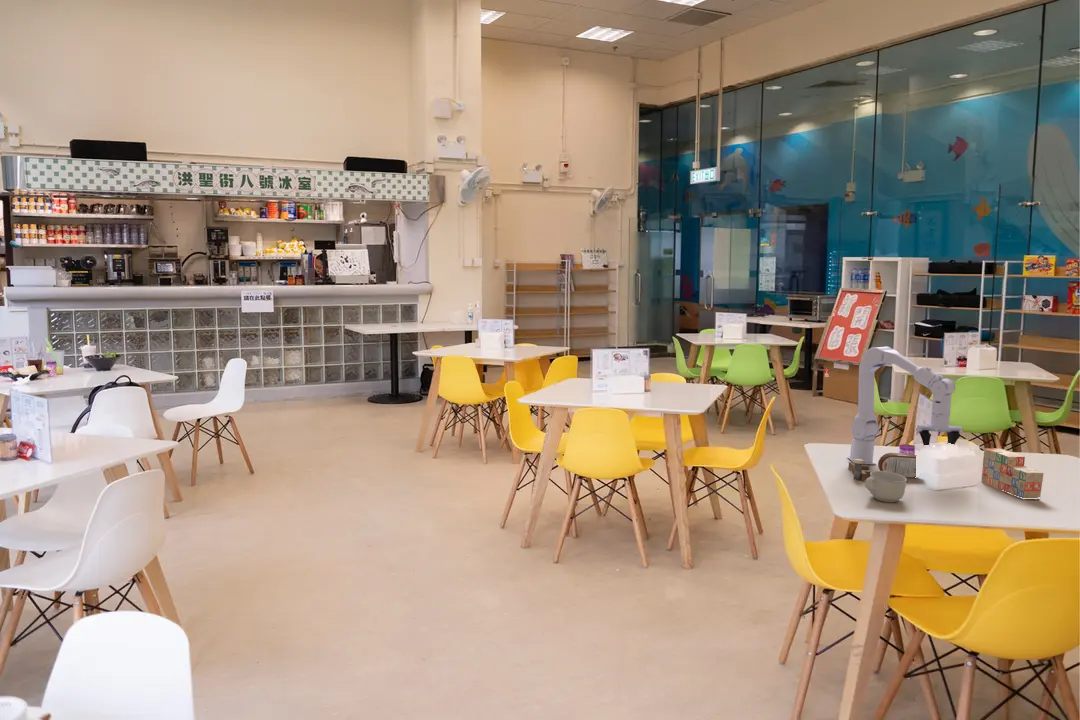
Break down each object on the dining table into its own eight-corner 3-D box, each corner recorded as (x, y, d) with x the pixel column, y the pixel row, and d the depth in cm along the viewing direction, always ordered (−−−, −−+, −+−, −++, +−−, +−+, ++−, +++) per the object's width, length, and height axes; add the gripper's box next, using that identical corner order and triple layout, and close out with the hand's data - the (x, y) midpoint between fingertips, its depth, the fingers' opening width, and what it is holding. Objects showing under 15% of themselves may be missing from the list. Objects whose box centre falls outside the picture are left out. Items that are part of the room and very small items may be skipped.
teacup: (891, 494, 263) (893, 470, 262) (912, 504, 253) (914, 479, 252) (852, 495, 261) (854, 470, 260) (871, 505, 250) (873, 480, 249)
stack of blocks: (1040, 500, 262) (1045, 463, 261) (1022, 500, 261) (1026, 463, 260) (997, 482, 283) (1000, 447, 282) (980, 482, 283) (984, 447, 281)
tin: (920, 477, 286) (923, 454, 285) (924, 480, 283) (926, 456, 282) (876, 474, 287) (878, 451, 286) (879, 477, 284) (881, 453, 283)
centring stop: (839, 468, 294) (841, 450, 294) (863, 469, 294) (865, 451, 293) (852, 480, 279) (854, 461, 278) (878, 481, 278) (880, 462, 277)
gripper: (923, 414, 278) (920, 453, 279) (967, 416, 277) (964, 455, 278) (915, 411, 285) (913, 449, 286) (958, 412, 284) (955, 450, 285)
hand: (937, 452), depth 283 cm, fingers open, 7 cm apart
